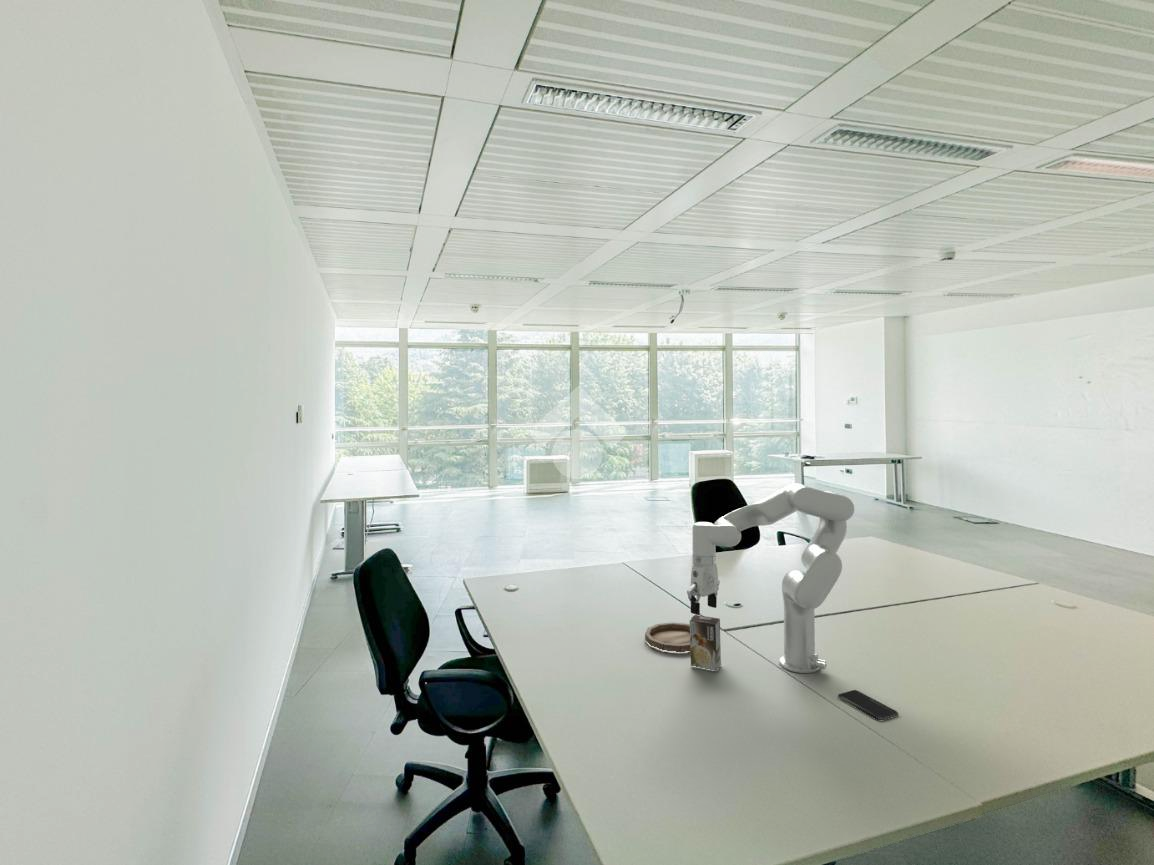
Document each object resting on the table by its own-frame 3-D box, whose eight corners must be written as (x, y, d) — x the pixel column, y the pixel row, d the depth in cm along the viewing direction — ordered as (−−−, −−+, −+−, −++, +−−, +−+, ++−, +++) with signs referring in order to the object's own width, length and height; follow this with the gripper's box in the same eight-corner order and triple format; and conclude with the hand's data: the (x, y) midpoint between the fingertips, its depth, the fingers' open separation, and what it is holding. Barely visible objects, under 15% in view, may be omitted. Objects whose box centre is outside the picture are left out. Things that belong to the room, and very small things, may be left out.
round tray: (717, 641, 217) (717, 633, 217) (682, 659, 202) (682, 650, 202) (670, 626, 233) (670, 618, 233) (633, 642, 218) (633, 634, 218)
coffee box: (721, 665, 197) (721, 618, 196) (717, 672, 191) (716, 624, 191) (695, 660, 201) (694, 614, 201) (689, 667, 196) (688, 620, 195)
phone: (879, 719, 160) (836, 694, 174) (879, 723, 160) (836, 698, 174) (900, 712, 163) (855, 689, 177) (900, 716, 163) (856, 692, 177)
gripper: (698, 566, 186) (698, 619, 187) (728, 557, 198) (727, 606, 199) (679, 562, 192) (678, 613, 192) (709, 553, 204) (708, 601, 204)
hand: (703, 610), depth 196 cm, fingers open, 9 cm apart
